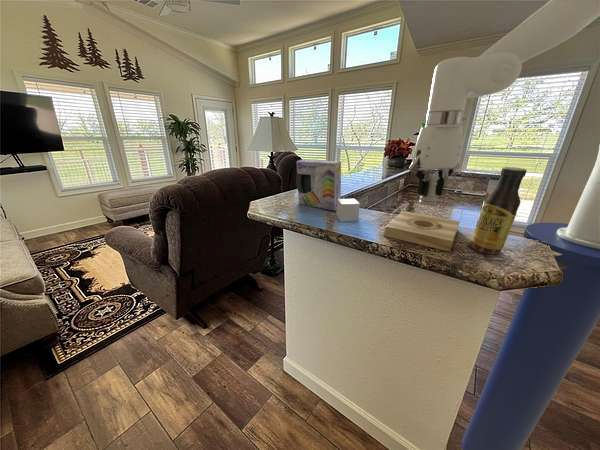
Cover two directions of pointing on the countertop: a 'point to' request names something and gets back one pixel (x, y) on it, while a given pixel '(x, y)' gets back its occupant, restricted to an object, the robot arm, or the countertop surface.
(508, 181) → the sauce bottle
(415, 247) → the countertop surface
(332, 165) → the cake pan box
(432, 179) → the rook chess piece
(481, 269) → the countertop surface
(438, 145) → the robot arm
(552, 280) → the countertop surface
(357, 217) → the white cube
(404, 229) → the wooden block
